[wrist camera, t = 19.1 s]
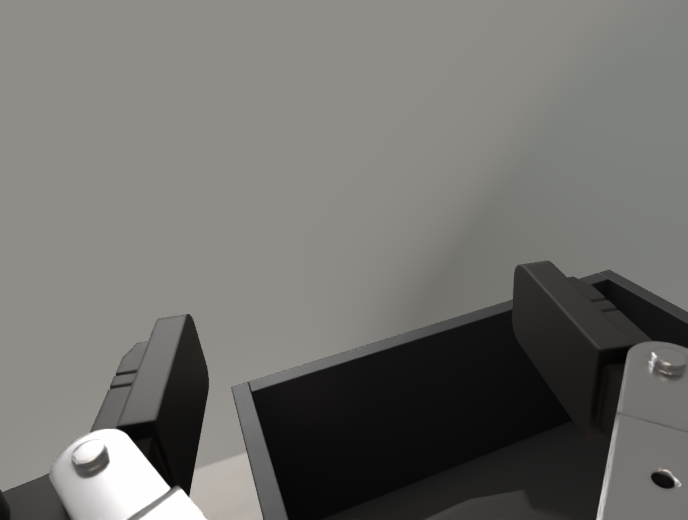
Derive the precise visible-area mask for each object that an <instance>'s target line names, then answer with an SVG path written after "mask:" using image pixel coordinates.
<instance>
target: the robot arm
mask: <svg viewBox="0 0 688 520" xmlns="http://www.w3.org/2000/svg"><path fill="white" fill-rule="evenodd" d="M512 324H513V329H514V333H515V336H516V339H517V341H518V342H519V344H520V345H521V347H522V348H523V350H524V351H525V353H526V354H527V355H528V357H529V358H530V360H531V361H532V363H533V364H534V366H535V367H536V368H537V370H538V371H539V373H540V374H541V376H542V377H543V379H544V380H545V381H546V383H547V384H548V386H549V387H550V389H551V390H552V392H553V393H554V394H555V396H556V397H557V399H558V400H559V402H560V403H561V404H562V406H563V407H564V409H565V410H566V412H567V413H568V415H569V416H570V417H571V419H572V420H573V422H574V423H575V425H576V426H577V428H578V429H579V430H580V432H581V433H582V435H583V436H584V438H585V439H591V438H597V437H603V436H607V437H608V439H609V440H610V441H611V443H610V449H609V454H608V460H607V465H606V470H605V476H604V481H603V486H602V492H601V497H600V503H599V508H598V513H597V519H596V520H688V349H687V348H685V347H682V346H679V345H676V344H672V343H667V342H658V341H652V340H651V339H650V338H649V337H648V336H647V335H646V334H645V333H644V332H642V331H641V330H640V329H639V328H638V327H637V326H636V325H635V324H634V323H633V322H632V321H630V320H629V319H628V318H627V317H626V316H625V315H624V314H623V313H622V312H621V311H620V310H618V311H617V308H616V307H615V306H614V305H613V304H612V303H611V302H610V301H609V300H607V301H606V298H605V297H604V296H603V295H602V294H601V293H600V292H599V291H598V290H597V289H596V288H595V287H593V286H592V285H590V284H588V283H586V282H583V281H581V280H579V279H577V278H575V277H568V278H567V277H566V276H565V275H564V274H563V273H562V272H561V271H560V270H559V269H558V268H556V266H555V265H554V264H552V263H551V262H550V261H542V262H535V263H529V264H522V265H518V266H517V267H516V269H515V272H514V289H513V309H512ZM208 390H209V378H208V370H207V365H206V362H205V358H204V355H203V351H202V348H201V344H200V341H199V338H198V334H197V331H196V327H195V324H194V321H193V318H192V317H191V315H190V314H187V315H180V316H173V317H167V318H161V319H158V320H157V321H156V323H155V325H154V328H153V331H152V333H151V336H150V338H149V341H145V342H140V343H137V344H136V345H135V346H134V347H133V348H132V349H131V350H130V351H129V352H128V353H127V354H126V355H125V356H124V357H123V358H122V360H121V362H120V365H119V367H118V369H117V372H116V376H114V378H113V381H112V383H111V385H110V390H108V392H107V394H106V397H105V399H104V401H103V403H102V406H101V408H100V410H99V413H98V415H97V417H96V419H95V422H94V424H93V426H92V429H91V431H90V433H89V434H86V435H84V436H82V437H80V438H78V439H77V440H75V441H73V442H72V443H71V444H69V445H68V446H67V447H65V448H64V450H62V451H61V452H60V453H59V455H58V456H57V457H56V459H55V460H54V462H53V464H52V466H51V468H50V473H49V474H47V475H44V476H42V477H40V478H37V479H35V480H32V481H30V482H27V483H25V484H22V485H20V486H17V487H15V488H12V489H10V490H7V491H5V492H2V491H1V490H0V520H207V518H206V517H205V516H204V515H203V514H202V512H201V511H200V510H199V509H198V508H197V506H196V505H195V504H194V503H193V502H192V500H191V499H190V498H189V495H190V489H191V484H192V478H193V473H194V467H195V461H196V456H197V451H198V445H199V440H200V434H201V429H202V423H203V417H204V412H205V407H206V401H207V396H208ZM352 520H358V519H352ZM424 520H580V519H577V518H574V517H572V516H569V515H566V514H562V513H559V512H555V511H550V510H544V509H537V508H533V507H532V505H531V503H530V501H529V499H528V497H527V495H526V493H525V491H524V490H519V491H514V492H508V493H502V494H496V495H491V496H485V497H479V498H473V499H468V500H466V501H464V502H462V503H460V504H457V505H455V506H453V507H451V508H448V509H446V510H444V511H442V512H439V513H437V514H435V515H433V516H431V517H428V518H426V519H424Z"/></svg>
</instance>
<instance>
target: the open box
mask: <svg viewBox="0 0 688 520" xmlns="http://www.w3.org/2000/svg"><path fill="white" fill-rule="evenodd" d="M579 280H581V281H583V282H586V283H588V284H590V285H592V286H593V287H595V288H596V289H597V290H598V291H599V292H600V293H601V294H602V295H603V296H604V297H605V298H606V301H607V300H609V301H610V302H611V303H612V304H613V305H614V306H615V307H616V308H617V311H618V310H620V311H621V312H622V313H623V314H624V315H625V316H626V317H627V318H628V319H629V320H630V321H632V322H633V323H634V324H635V325H636V326H637V327H638V328H639V329H640V330H641V331H642V332H644V333H645V334H646V335H647V336H648V337H649V338H650V339H651V340H652V341H658V342H667V343H672V344H676V345H679V346H682V347H685V348H687V349H688V312H686V311H684V310H683V309H681V308H679V307H677V306H675V305H674V304H672V303H670V302H668V301H666V300H664V299H662V298H660V297H659V296H657V295H655V294H653V293H651V292H649V291H648V290H645V289H644V288H642V287H640V286H638V285H637V284H635V283H633V282H631V281H629V280H627V279H626V278H624V277H622V276H620V275H618V274H616V273H614V272H613V271H611V270H606V271H603V272H600V273H596V274H593V275H591V276H587V277H584V278H580V279H579ZM512 309H513V300H510V301H507V302H503V303H500V304H497V305H494V306H490V307H487V308H484V309H481V310H477V311H475V312H471V313H468V314H465V315H461V316H458V317H455V318H452V319H448V320H446V321H442V322H439V323H436V324H433V325H429V326H426V327H423V328H420V329H416V330H413V331H410V332H407V333H403V334H401V335H398V336H394V337H391V338H388V339H384V340H381V341H378V342H375V343H371V344H368V345H365V346H362V347H359V348H355V349H352V350H349V351H346V352H342V353H339V354H336V355H333V356H330V357H326V358H323V359H320V360H317V361H313V362H310V363H307V364H304V365H301V366H298V367H294V368H291V369H288V370H285V371H282V372H278V373H275V374H272V375H268V376H266V377H262V378H259V379H256V380H253V381H249V383H248V382H246V383H243V384H239V385H236V386H233V387H232V388H231V389H232V393H233V397H234V401H235V405H236V409H237V413H238V417H239V421H240V425H241V430H242V433H243V438H244V442H245V446H246V450H247V454H248V458H249V462H250V466H251V471H252V475H253V479H254V483H255V487H256V491H257V495H258V499H259V503H260V507H261V511H262V516H263V520H352V519H358V520H424V519H426V518H428V517H431V516H433V515H435V514H437V513H439V512H442V511H444V510H446V509H448V508H451V507H453V506H455V505H457V504H460V503H462V502H464V501H466V500H468V499H473V498H479V497H485V496H491V495H496V494H502V493H508V492H514V491H519V490H524V491H525V493H526V495H527V497H528V499H529V501H530V503H531V505H532V507H533V508H537V509H544V510H550V511H555V512H559V513H562V514H566V515H569V516H572V517H574V518H577V519H580V520H596V519H597V513H598V508H599V503H600V497H601V492H602V486H603V481H604V476H605V470H606V465H607V460H608V454H609V449H610V443H611V441H610V440H609V439H608V437H607V436H603V437H597V438H591V439H585V438H584V436H583V435H582V433H581V432H580V430H579V429H578V428H577V426H576V425H575V423H574V422H573V420H572V419H571V417H570V416H569V415H568V413H567V412H566V410H565V409H564V407H563V406H562V404H561V403H560V402H559V400H558V399H557V397H556V396H555V394H554V393H553V392H552V390H551V389H550V387H549V386H548V384H547V383H546V381H545V380H544V379H543V377H542V376H541V374H540V373H539V371H538V370H537V368H536V367H535V366H534V364H533V363H532V361H531V360H530V358H529V357H528V355H527V354H526V353H525V351H524V350H523V348H522V347H521V345H520V344H519V342H518V341H517V339H516V336H515V333H514V329H513V324H512Z"/></svg>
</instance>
